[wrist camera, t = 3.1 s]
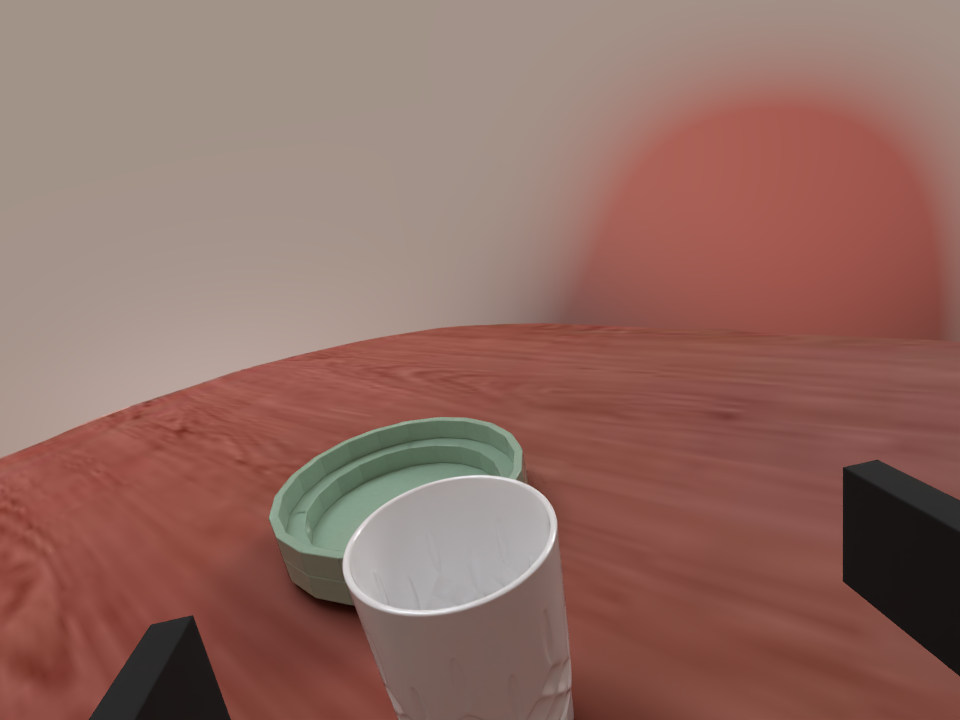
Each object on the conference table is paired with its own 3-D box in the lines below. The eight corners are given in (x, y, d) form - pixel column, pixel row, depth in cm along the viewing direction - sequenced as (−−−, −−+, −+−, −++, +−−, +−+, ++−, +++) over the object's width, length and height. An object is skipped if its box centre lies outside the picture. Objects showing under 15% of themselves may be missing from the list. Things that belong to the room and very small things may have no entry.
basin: (497, 441, 48) (489, 399, 47) (568, 561, 32) (559, 503, 31) (300, 493, 45) (287, 451, 44) (269, 653, 29) (246, 593, 28)
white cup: (371, 730, 24) (309, 542, 21) (505, 625, 28) (470, 456, 25) (478, 894, 18) (413, 660, 15) (629, 727, 22) (603, 520, 19)
